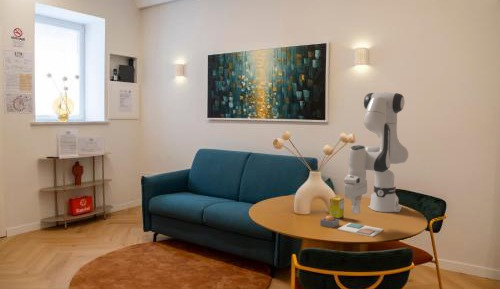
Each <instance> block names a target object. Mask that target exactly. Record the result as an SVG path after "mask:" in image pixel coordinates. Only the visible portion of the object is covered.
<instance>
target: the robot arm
mask: <svg viewBox="0 0 500 289" xmlns="http://www.w3.org/2000/svg"><path fill="white" fill-rule="evenodd" d="M405 102H406V101H405V98H404V96H403V94H401V93H398V92H396V93H394V92H375V93H374V92H370V93H367V94H366V95H365V96H364V99H363V107H364V109H365V113H364V118H363V125H364V126H365V129H367V130H368V131H369V132H372V133H374V134H376V135H377V137H378V138H379V139H380V144H373V145H367V146H366V147H365V146H364V145H352V146H351V147H349V152H348V160H347V164H348V170H347V174H346V176H345V177H344V179H343V183H344V186H343V187H344V188H343V191H344V199H349V200H350V201H351V207H352V206H356V202H355V199H356V197H358V196H360V195H361V198H360V204H361V200H362V197H363V196H364V195H365V194H367V193H368V181H367V179H366V178H367V171H371V172H373V175H374V186H373V193H371V197H370V203H369V205H368V206H367V207H368V208H369V209H371V210H372V211H376V212H379V213H380V212H381V213H400V211H401V210H402V208H403V205H401V204H399V197H398V195H397V194H396V188H397V186H395V173H394V172H393V171H391V170H390V167H391V164H392V165H395V164H396V165H398V164H404V163H406V161H408V159H409V151H408V149H407V148H406V147H405V146H404V145H403V144H402V143H401V142H400V141H399V138H398V113H400V112H401V111H403V109H404V107H405Z"/></svg>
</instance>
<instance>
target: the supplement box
mask: <svg viewBox="0 0 500 289" xmlns="http://www.w3.org/2000/svg"><path fill="white" fill-rule="evenodd" d="M344 209H345V197H338V196H333V197H331V198H329V216H333V217H334V218H335V219H339V220H340V219H343V218H344V214H345V213H344V211H345V210H344Z"/></svg>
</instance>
